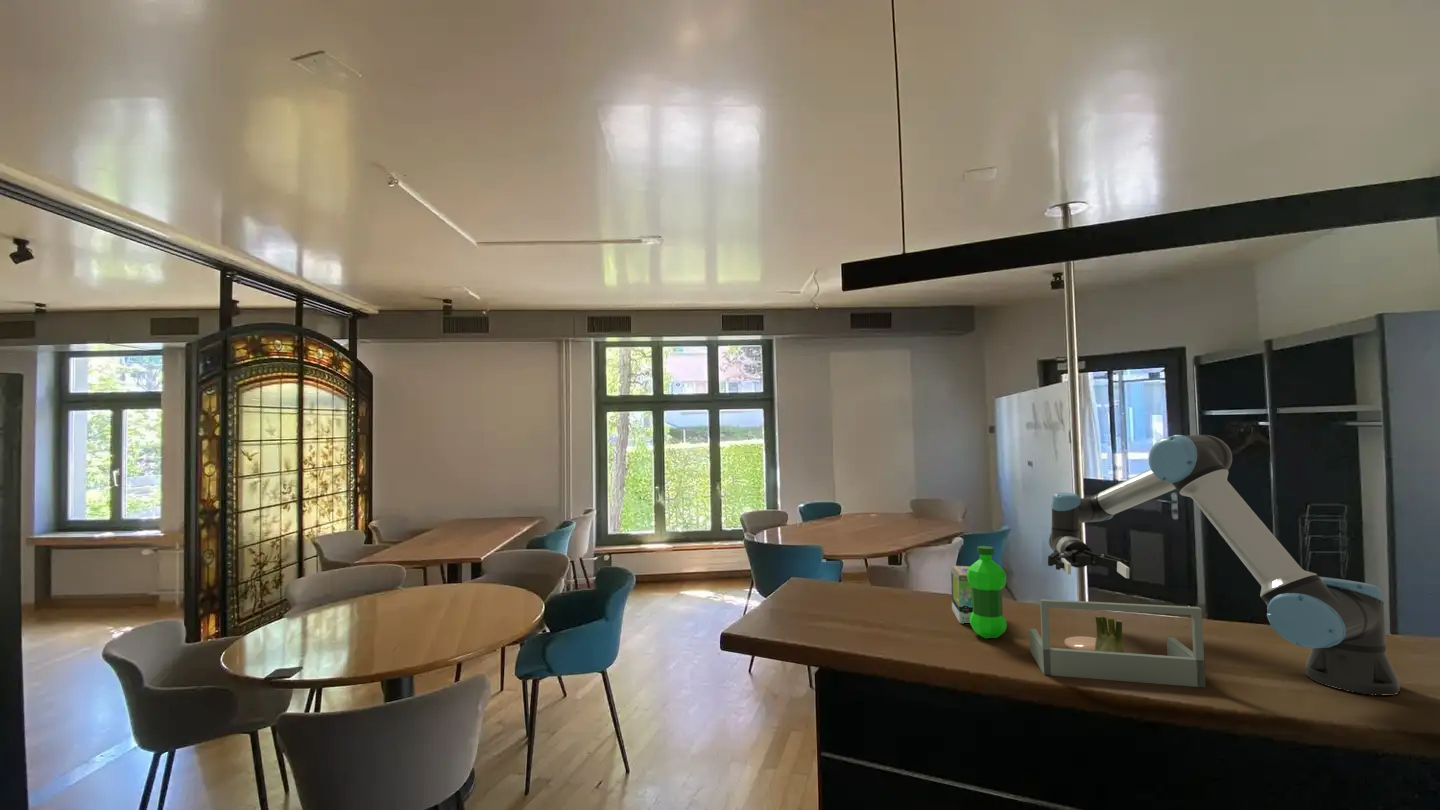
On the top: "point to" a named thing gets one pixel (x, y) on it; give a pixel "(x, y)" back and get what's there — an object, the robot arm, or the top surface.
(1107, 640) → the fennel bulb
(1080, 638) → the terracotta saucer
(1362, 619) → the robot arm
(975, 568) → the plastic bottle
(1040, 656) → the frame
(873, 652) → the top surface
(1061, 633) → the top surface
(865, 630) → the top surface
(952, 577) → the tea box
